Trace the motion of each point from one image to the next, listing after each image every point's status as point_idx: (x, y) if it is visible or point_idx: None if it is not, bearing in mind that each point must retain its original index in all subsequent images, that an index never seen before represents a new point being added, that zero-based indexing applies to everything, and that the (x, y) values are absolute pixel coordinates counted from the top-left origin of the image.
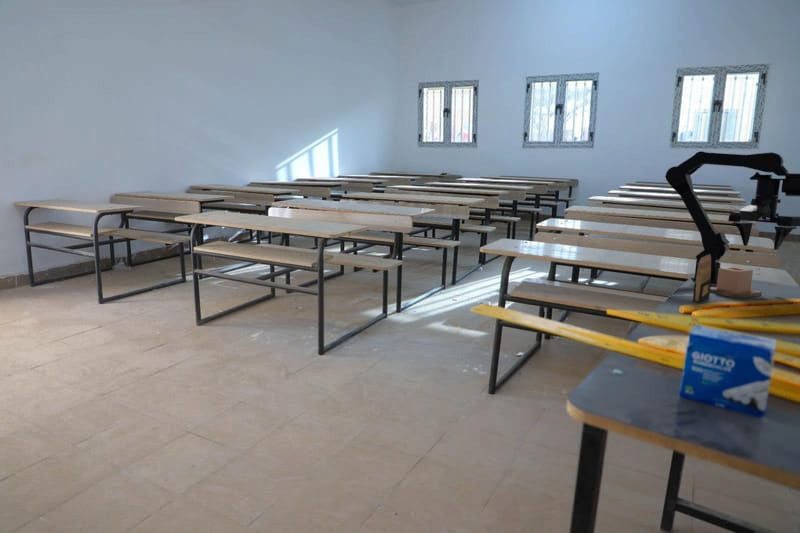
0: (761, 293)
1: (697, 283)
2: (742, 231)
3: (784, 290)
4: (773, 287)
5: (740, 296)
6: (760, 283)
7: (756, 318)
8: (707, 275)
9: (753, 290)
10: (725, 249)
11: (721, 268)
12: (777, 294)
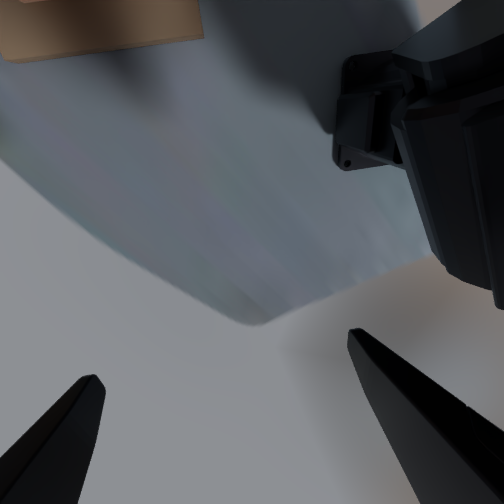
0: (8, 58)
1: None
2: (494, 468)
3: (146, 269)
4: (199, 275)
5: None
6: (267, 287)
7: None
8: None
9: (46, 47)
10: (413, 126)
11: None
12: (62, 178)
